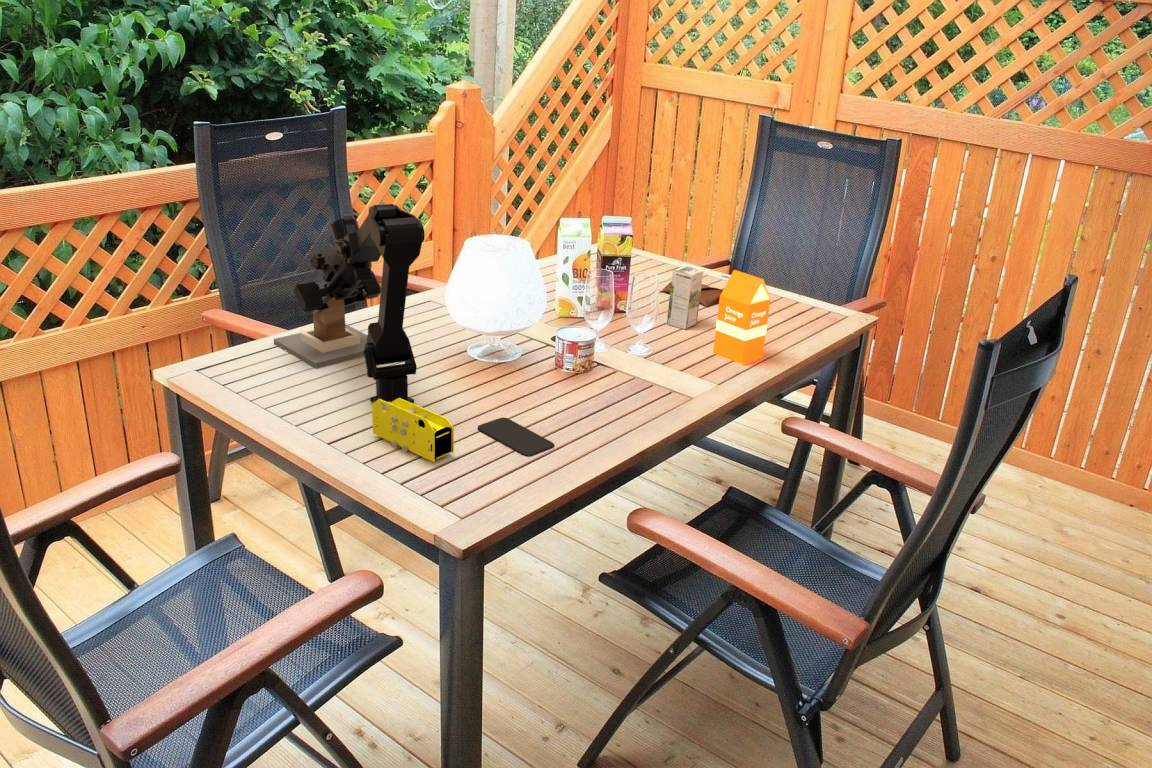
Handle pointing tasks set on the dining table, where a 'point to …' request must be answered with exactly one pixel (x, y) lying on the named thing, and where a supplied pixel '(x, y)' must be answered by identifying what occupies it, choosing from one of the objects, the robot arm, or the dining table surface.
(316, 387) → the dining table surface
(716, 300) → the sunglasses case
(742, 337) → the orange juice
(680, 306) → the syrup box
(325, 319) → the walnut block
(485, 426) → the phone
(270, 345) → the dining table surface
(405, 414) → the yellow toy chassis
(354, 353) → the socket plate
